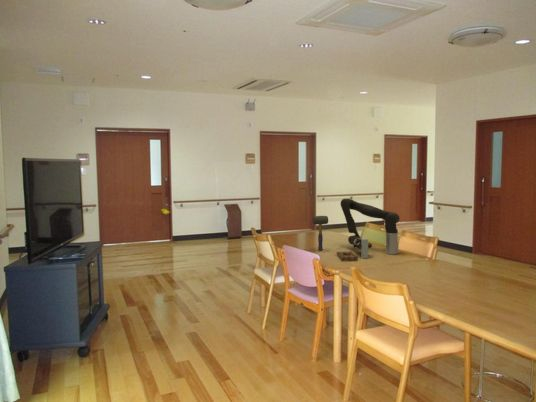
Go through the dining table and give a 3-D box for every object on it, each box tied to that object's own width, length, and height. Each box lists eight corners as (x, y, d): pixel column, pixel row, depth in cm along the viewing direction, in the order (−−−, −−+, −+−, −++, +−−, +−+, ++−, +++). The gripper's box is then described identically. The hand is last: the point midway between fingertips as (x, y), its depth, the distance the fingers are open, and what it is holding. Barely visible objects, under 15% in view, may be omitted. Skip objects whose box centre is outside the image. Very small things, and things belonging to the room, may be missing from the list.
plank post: (366, 256, 333) (366, 238, 331) (367, 258, 328) (368, 239, 326) (361, 257, 333) (361, 238, 331) (362, 258, 328) (362, 239, 326)
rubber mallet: (325, 249, 363) (326, 214, 360) (328, 251, 355) (328, 216, 352) (312, 250, 360) (312, 215, 357) (314, 251, 353) (314, 216, 350)
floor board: (351, 255, 340) (351, 251, 339) (357, 260, 320) (357, 257, 320) (336, 255, 339) (336, 251, 339) (341, 261, 319) (342, 257, 319)
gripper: (350, 238, 344) (355, 242, 328) (367, 238, 345) (373, 242, 329) (350, 247, 345) (355, 252, 329) (367, 247, 345) (373, 251, 329)
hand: (364, 247), depth 329 cm, fingers open, 8 cm apart
